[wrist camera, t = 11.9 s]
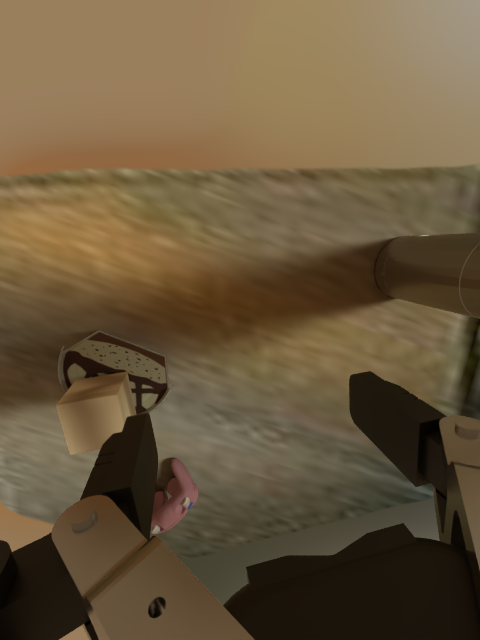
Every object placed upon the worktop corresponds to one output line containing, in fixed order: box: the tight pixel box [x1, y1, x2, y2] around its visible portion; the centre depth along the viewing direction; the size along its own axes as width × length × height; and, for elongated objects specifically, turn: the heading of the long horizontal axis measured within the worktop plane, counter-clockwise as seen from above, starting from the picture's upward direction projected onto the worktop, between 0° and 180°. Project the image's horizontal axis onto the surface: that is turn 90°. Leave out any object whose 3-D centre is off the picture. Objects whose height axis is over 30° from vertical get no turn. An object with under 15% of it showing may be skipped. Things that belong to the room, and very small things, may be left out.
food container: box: [57, 330, 174, 415], centre depth 36 cm, size 12×6×10 cm, turn 64°
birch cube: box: [56, 372, 136, 455], centre depth 29 cm, size 5×5×5 cm
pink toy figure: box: [150, 458, 198, 534], centre depth 44 cm, size 10×5×7 cm, turn 130°
